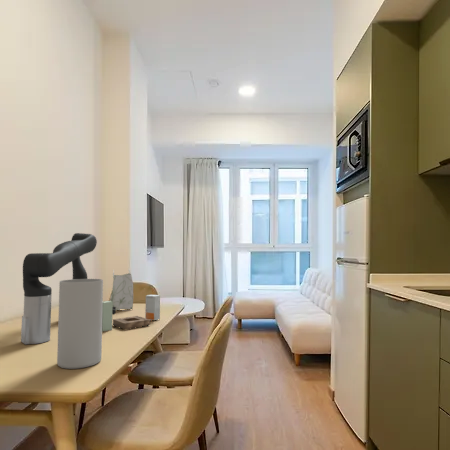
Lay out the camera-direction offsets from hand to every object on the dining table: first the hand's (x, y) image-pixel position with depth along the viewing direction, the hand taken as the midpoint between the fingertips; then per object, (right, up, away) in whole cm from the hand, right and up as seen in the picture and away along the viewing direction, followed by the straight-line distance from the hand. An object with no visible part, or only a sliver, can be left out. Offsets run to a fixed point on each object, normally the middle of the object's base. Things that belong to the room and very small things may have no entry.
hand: (105, 313), depth 151 cm
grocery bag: (-11, -12, +62) cm, 64 cm away
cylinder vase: (+8, -4, -45) cm, 45 cm away
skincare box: (+17, -9, +20) cm, 27 cm away
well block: (+10, -8, +7) cm, 14 cm away
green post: (+1, -7, -1) cm, 7 cm away
